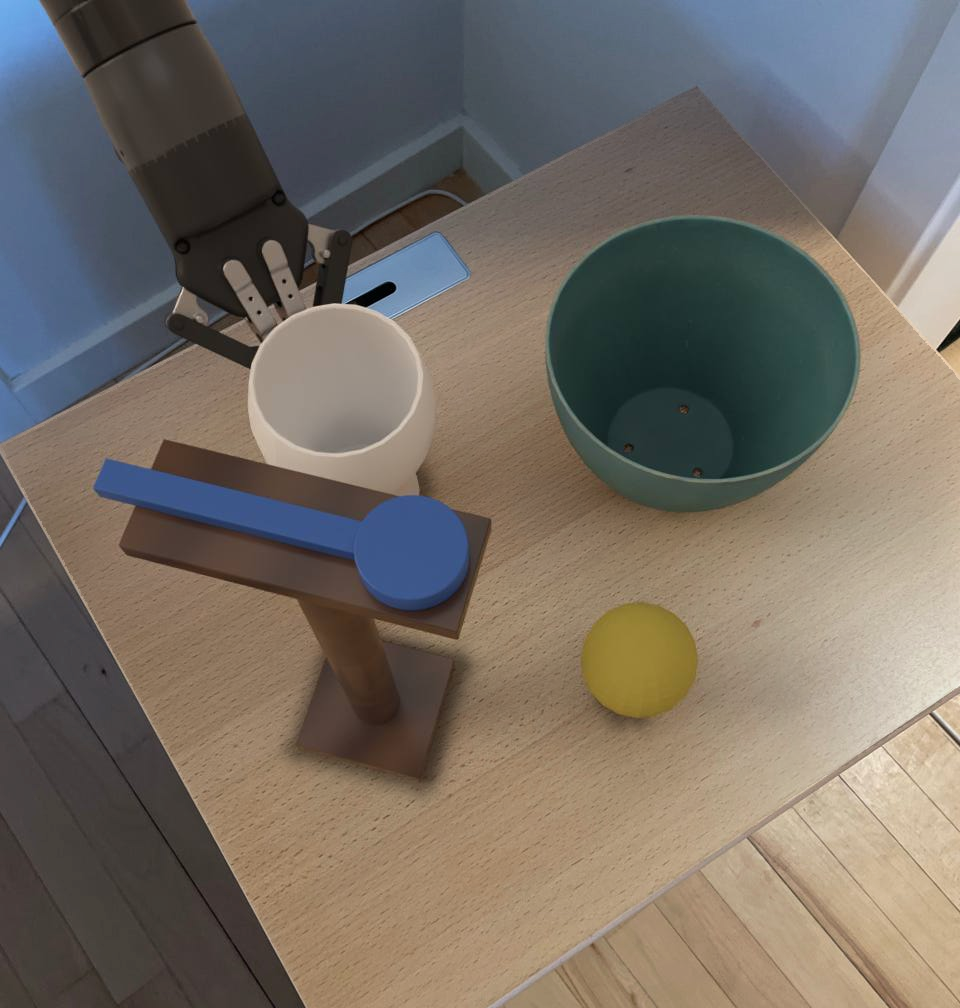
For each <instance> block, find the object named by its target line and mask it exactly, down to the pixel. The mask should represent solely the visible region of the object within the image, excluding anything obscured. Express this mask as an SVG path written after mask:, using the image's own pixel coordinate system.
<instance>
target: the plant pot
mask: <svg viewBox="0 0 960 1008" xmlns="http://www.w3.org/2000/svg"><path fill="white" fill-rule="evenodd" d="M545 326H546V327H545V336H544V346H545V347H544V357H545V359H544V360H545V368H546V376H547V383H548V386H549V391H550V396H551V399H552V403H553V406H554V409H555V412H556V415H557V418H558V421H559V422H560V425H561V428H562V430H563V432H564V435H566V437H567V439H568V441H569V443H570V445H571V446H572V448H573V450H574V451H575V452H576V454H577V455H578V456H579V459H580V460H582V462H583V464H584V465H585V466H586V467H587V468H588V469H589V470H590V471H591V473H592V474H594V475H595V476H596V477H597V478H598V479H599V480H600V481H601V482H602V483H603V484H604V485H606V486H607V487H609V488H610V489H612V490H613V491H614V492H615V493H617V494H619V495H620V496H621V497H624V498H626V499H628V501H629V500H630V501H631V502H634V503H636V504H638V505H641V506H644V507H647V508H651V509H654V510H658V511H664V512H669V513H670V512H671V513H681V514H682V513H686V514H687V513H689V514H691V513H703V512H711V511H716V510H720V509H724V508H728V507H731V506H734V505H737V504H741V503H742V502H744V501H745V502H746V501H748V500H750V499H752V498H755V497H756V496H758V495H760V494H763V493H764V492H766V491H768V490H769V489H771V488H773V487H774V486H776V485H778V484H779V483H781V482H782V481H784V480H785V479H787V478H788V477H789V476H790V475H792V474H793V473H795V472H796V471H797V470H798V469H799V468H800V467H801V466H803V465H804V464H805V463H806V462H807V461H808V460H809V459H810V458H811V457H812V456H813V455H815V453H816V452H817V451H818V450H819V449H820V448H821V447H822V446H823V445H824V444H825V442H826V441H827V440H828V439H829V437H830V436H831V435H832V434H833V432H834V431H835V430H836V429H837V427H838V425H839V424H840V422H841V421H842V419H843V417H844V416H845V415H846V413H847V411H848V409H849V407H850V405H851V403H852V401H853V398H854V395H855V392H856V391H857V390H856V389H857V385H858V383H859V378H860V372H861V371H860V370H861V361H862V358H861V357H862V355H861V342H860V335H859V332H858V326H857V323H856V320H855V317H854V314H853V311H852V309H851V307H850V304H849V303H848V301H847V298H846V296H845V295H844V293H843V292H842V289H840V286H838V283H836V281H835V280H834V278H833V277H832V276H831V275H830V273H828V272H827V270H826V269H825V268H824V267H823V266H822V265H821V264H820V263H819V262H818V261H817V260H816V259H815V258H814V257H812V256H811V255H810V254H809V253H808V252H806V251H805V250H804V249H802V248H801V247H799V246H798V245H797V244H795V243H794V242H792V241H791V240H789V239H787V238H785V237H783V236H781V235H779V234H777V233H775V231H774V232H773V231H771V230H769V229H768V228H765V227H762V226H759V225H758V224H753V223H750V222H748V221H744V220H740V219H736V218H731V217H724V216H717V215H708V214H705V215H704V214H683V215H681V214H680V215H671V216H665V217H660V218H654V219H650V220H647V221H643V222H640V223H637V224H634V225H631V226H629V227H625V228H624V229H621V230H620V231H617V232H615V233H613V234H611V235H610V236H609V237H607V238H604V239H603V240H602V241H600V242H599V243H598V244H596V245H595V246H594V247H593V248H592V247H591V249H590V250H589V251H588V252H586V253H585V254H584V255H583V256H582V257H581V258H580V259H579V260H578V261H577V262H576V263H575V264H574V265H573V267H572V268H571V269H570V270H569V271H568V273H567V274H566V276H565V277H564V279H563V280H562V281H561V283H560V285H559V287H558V289H556V293H555V295H554V297H553V299H552V302H551V304H550V308H549V310H548V315H547V320H546V325H545ZM681 408H686V409H687V411H686V412H685V413H684V412H682V411H681V410H680V409H681ZM626 446H630V447H632V450H631V451H629V452H628V451H626V450H625V448H626ZM695 471H699V472H700V473H701V475H700V476H696V475H695V474H694V472H695Z"/></svg>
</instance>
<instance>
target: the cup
mask: <svg viewBox="0 0 960 1008" xmlns="http://www.w3.org/2000/svg"><path fill="white" fill-rule="evenodd" d="M258 346H259V349H258V351H257V353H256V355H255V357H254V360H253V362H252V364H251V369H250V372H249V378H248V388H247V389H248V390H247V391H248V392H247V411H248V417H249V418H248V419H249V426H250V430H251V432H252V434H253V437H254V439H255V442H256V444H257V446H258V449H259V450H260V453H261V454H262V456H263V459H264V461H265V464H269V465H273V466H277V467H281V468H285V469H289V470H293V471H298V472H302V473H306V474H310V475H314V476H318V477H322V478H326V479H331V480H335V481H339V482H343V483H347V484H351V485H355V486H359V487H364V488H368V489H372V490H376V491H380V492H384V493H388V494H392V495H396V496H405V495H420V484H419V482H418V481H419V480H418V476H417V472H418V471H419V469H420V468H421V466H422V464H423V463H424V461H425V459H426V458H427V456H428V453H429V451H430V449H431V446H432V444H433V441H434V439H435V436H436V435H435V433H436V424H437V423H436V421H437V401H436V400H437V398H436V397H437V396H436V392H435V388H434V383H433V378H432V375H431V372H430V371H429V369H428V367H427V365H426V363H425V362H424V360H423V358H422V356H421V354H420V352H419V350H418V348H417V347H416V344H415V343H414V341H413V339H412V338H411V336H410V335H409V334H408V333H407V332H406V331H405V330H404V329H403V328H402V327H401V326H400V325H399V324H398V323H397V322H396V321H394V320H393V319H391V318H390V317H387V316H386V315H384V314H383V313H381V312H379V311H377V310H375V309H371V308H368V307H365V306H362V305H358V304H351V303H350V304H349V303H342V304H335V303H334V304H327V305H321V306H315V307H313V306H312V307H309V308H306V310H304V311H301V312H299V313H296V314H294V315H292V316H290V317H289V318H287V319H286V320H285V321H283V322H282V321H281V322H280V323H279V324H278V326H276V327H275V328H274V329H273V330H272V331H271V332H270V334H269V335H268V336H267V337H266V338H265V340H264V341H263V342H262V343H260V344H259V345H258Z"/></svg>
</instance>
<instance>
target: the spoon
mask: <svg viewBox="0 0 960 1008" xmlns="http://www.w3.org/2000/svg"><path fill="white" fill-rule="evenodd" d="M92 489H93V490H94V492H95V493H96V494H97V495H98V497H100V498H103V499H107V500H111V501H115V502H119V503H122V504H128V505H131V506H134V507H135V506H138V507H142V508H146V509H150V510H154V511H158V512H162V513H166V514H170V515H174V516H178V517H182V518H186V519H190V520H194V521H198V522H202V523H206V524H210V525H214V526H218V527H222V528H226V529H230V530H234V531H238V532H242V533H246V534H250V535H254V536H258V537H262V538H266V539H270V540H274V541H278V542H282V543H286V544H290V545H294V546H298V547H302V548H306V549H310V550H314V551H318V552H322V553H326V554H330V555H334V556H338V557H342V558H346V559H350V560H354V561H355V563H356V566H357V569H358V572H359V575H360V578H361V580H362V582H363V584H364V585H365V587H366V588H367V590H368V591H369V592H370V593H371V594H372V595H373V596H374V597H375V598H376V599H377V600H379V601H381V602H382V603H384V604H386V605H388V606H390V607H393V608H396V609H401V610H422V609H427V608H430V607H434V606H436V605H438V604H440V603H442V602H443V601H445V600H447V599H448V598H449V597H450V596H452V595H453V594H454V593H455V592H456V591H457V590H458V588H459V587H460V586H461V584H462V582H463V581H464V579H465V576H466V574H467V571H468V567H469V558H470V557H469V541H468V536H467V532H466V529H465V527H464V525H463V523H462V521H461V519H460V518H459V517H458V515H457V514H456V513H455V512H454V511H453V510H452V509H453V508H452V507H451V508H450V507H449V505H447V504H445V503H443V502H442V501H440V500H437V499H436V498H432V497H429V496H425V495H420V494H419V495H405V496H400V497H396V498H392V499H390V500H387V501H385V502H383V503H382V504H380V505H378V506H377V507H376V508H374V509H373V510H372V511H371V512H370V513H369V514H368V515H367V516H366V517H365V519H364V520H363V521H359V520H354V519H350V518H346V517H342V516H338V515H334V514H330V513H326V512H322V511H318V510H314V509H310V508H306V507H302V506H298V505H294V504H289V503H285V502H281V501H277V500H273V499H269V498H265V497H261V496H257V495H253V494H249V493H245V492H241V491H237V490H233V489H229V488H224V487H220V486H216V485H212V484H208V483H204V482H200V481H196V480H192V479H188V478H184V477H180V476H176V475H172V474H168V473H164V472H159V471H155V470H151V468H148V467H143V466H139V465H135V464H130V463H127V462H124V461H123V462H122V461H119V460H115V459H111V458H105V460H104V462H103V464H102V466H101V469H100V471H99V473H98V474H97V478H96V480H95V482H94V484H93V487H92Z"/></svg>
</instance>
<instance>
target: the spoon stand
mask: <svg viewBox="0 0 960 1008" xmlns="http://www.w3.org/2000/svg"><path fill="white" fill-rule="evenodd" d="M150 469H151V470H155V471H159V472H164V473H168V474H172V475H176V476H180V477H184V478H188V479H192V480H196V481H200V482H204V483H208V484H212V485H216V486H220V487H224V488H229V489H233V490H237V491H241V492H245V493H249V494H253V495H257V496H261V497H265V498H269V499H273V500H277V501H281V502H285V503H289V504H294V505H298V506H302V507H306V508H310V509H314V510H318V511H322V512H326V513H330V514H334V515H338V516H342V517H346V518H350V519H354V520H359V521H363V520H364V519H365V517H366V516H367V515H368V514H369V513H370V512H371V511H372V510H373V509H374V508H376V507H377V506H378V505H380V504H382V503H383V502H385V501H387V500H390V499H392V498H396V497H400V496H396V495H392V494H388V493H384V492H380V491H376V490H372V489H368V488H364V487H359V486H355V485H351V484H347V483H343V482H339V481H335V480H331V479H326V478H322V477H318V476H314V475H310V474H306V473H302V472H298V471H293V470H289V469H285V468H281V467H277V466H273V465H269V464H267V463H266V462H265V463H264V462H260V461H256V460H251V459H247V458H244V457H238V456H236V455H232V454H228V453H223V452H219V451H214V450H211V449H207V448H202V447H198V446H194V445H190V444H186V443H181V442H178V441H174V440H169V439H164V438H163V439H162V442H161V445H160V446H159V449H158V452H157V454H156V456H155V458H154V461H153V463H152V465H151V468H150ZM451 509H452V510H453V511H454V512H455V513H456V514H457V515H458V517H459V518H460V519H461V521H462V523H463V525H464V527H465V529H466V532H467V536H468V541H469V557H470V558H469V567H468V571H467V574H466V576H465V579H464V581H463V582H462V584H461V586H460V587H459V588H458V590H457V591H456V592H455V593H454V594H453V595H452V596H450V597H449V598H448V599H447V600H445V601H443V602H442V603H440V604H438V605H436V606H434V607H430V608H427V609H422V610H401V609H396V608H393V607H390V606H388V605H386V604H384V603H382V602H381V601H379V600H377V599H376V598H375V597H374V596H373V595H372V594H371V593H370V592H369V591H368V590H367V588H366V587H365V585H364V584H363V582H362V580H361V578H360V575H359V572H358V569H357V566H356V563H355V561H354V560H350V559H346V558H342V557H338V556H334V555H330V554H326V553H322V552H318V551H314V550H310V549H306V548H302V547H298V546H294V545H290V544H286V543H282V542H278V541H274V540H270V539H266V538H262V537H258V536H254V535H250V534H246V533H242V532H238V531H234V530H230V529H226V528H222V527H218V526H214V525H210V524H206V523H202V522H198V521H194V520H190V519H186V518H182V517H178V516H174V515H170V514H166V513H162V512H158V511H154V510H150V509H146V508H142V507H138V506H134V508H133V510H132V511H131V515H130V518H129V519H128V521H127V524H126V526H125V528H124V531H123V533H122V536H121V538H120V540H119V543H118V547H119V548H120V549H121V550H122V552H123V553H124V554H125V555H126V556H127V557H130V558H135V559H139V560H143V561H147V562H151V563H155V564H159V565H163V566H167V567H171V568H175V569H178V570H181V571H186V572H190V573H194V574H197V575H201V576H206V577H208V578H213V579H217V580H221V581H224V582H229V583H233V584H237V585H241V586H244V587H248V588H252V589H256V590H259V591H264V592H268V593H272V594H275V595H280V596H284V597H288V598H291V599H295V600H296V601H297V603H298V605H299V607H300V609H301V611H302V613H303V615H304V617H305V619H306V620H307V622H308V624H309V626H310V628H311V630H312V632H313V634H314V636H315V638H316V640H317V642H318V644H319V646H320V648H321V650H322V652H323V653H324V656H325V659H324V661H323V665H322V667H321V670H320V674H319V676H318V679H317V683H316V685H315V688H314V691H313V693H312V697H311V699H310V703H309V705H308V709H307V711H306V715H305V718H304V721H303V724H302V726H301V729H300V732H299V735H298V738H297V741H296V744H295V745H296V747H297V748H298V750H302V751H304V752H305V751H306V752H309V753H312V754H316V755H320V756H324V757H326V758H331V759H333V760H334V759H335V760H338V761H342V762H345V763H349V764H353V765H356V766H360V767H364V768H368V769H372V770H374V771H379V772H382V773H385V774H390V775H393V776H397V777H399V778H400V777H401V778H405V779H408V780H411V781H415V782H422V781H421V780H422V777H423V774H424V770H425V767H426V764H427V761H428V757H429V754H430V750H431V748H432V743H433V740H434V737H435V733H436V730H437V726H438V723H439V720H440V717H441V713H442V710H443V707H444V703H445V700H446V698H447V697H446V696H447V693H448V691H449V687H450V684H451V679H452V677H453V674H454V669H455V666H456V661H455V658H453V657H448V656H444V655H440V654H436V653H432V652H428V651H424V650H420V649H417V648H414V647H413V648H412V647H409V646H406V645H401V644H397V643H393V642H389V641H386V640H382V639H381V636H380V633H379V630H378V627H377V624H376V620H378V621H381V622H385V623H389V624H393V625H395V626H401V627H405V628H408V629H412V630H415V631H420V632H423V633H428V634H432V635H435V636H438V637H439V636H440V637H444V638H447V639H451V640H455V641H458V640H459V639H460V636H461V632H462V629H463V626H464V624H465V619H466V617H467V616H466V615H467V613H468V609H469V606H470V603H471V599H472V596H473V593H474V589H475V586H476V584H477V583H476V582H477V579H478V576H479V573H480V569H481V566H482V563H483V559H484V556H485V552H486V549H487V547H488V546H487V545H488V542H489V539H490V536H491V533H492V518H490V517H488V516H483V515H478V514H475V513H471V512H466V511H462V510H458V509H454V508H451Z"/></svg>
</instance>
